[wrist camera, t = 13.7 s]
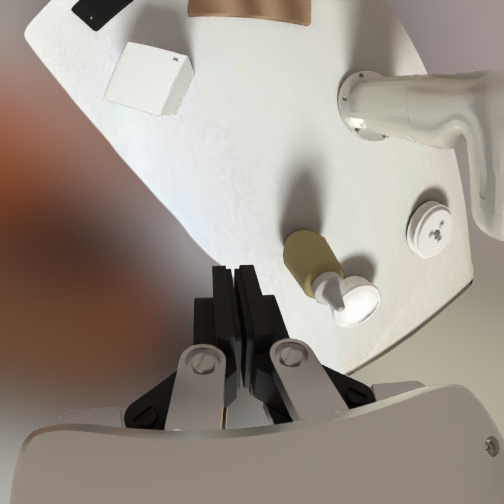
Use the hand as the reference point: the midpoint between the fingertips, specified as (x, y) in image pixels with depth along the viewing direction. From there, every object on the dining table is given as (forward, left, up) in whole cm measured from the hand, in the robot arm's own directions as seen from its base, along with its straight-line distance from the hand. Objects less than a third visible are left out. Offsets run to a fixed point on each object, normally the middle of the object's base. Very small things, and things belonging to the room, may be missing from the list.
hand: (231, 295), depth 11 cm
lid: (-45, +10, -33) cm, 56 cm away
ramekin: (-28, +26, -32) cm, 50 cm away
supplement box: (+8, -12, -32) cm, 35 cm away
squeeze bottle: (-15, +14, -32) cm, 38 cm away
